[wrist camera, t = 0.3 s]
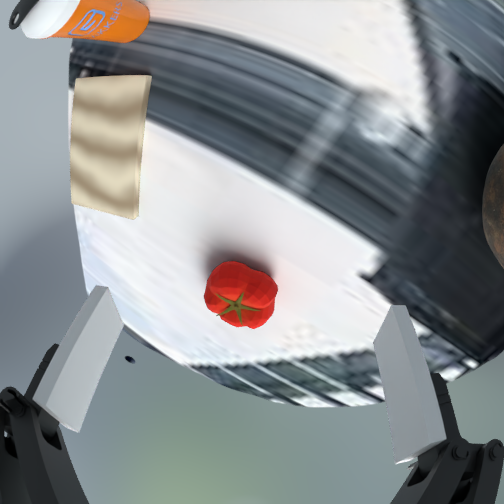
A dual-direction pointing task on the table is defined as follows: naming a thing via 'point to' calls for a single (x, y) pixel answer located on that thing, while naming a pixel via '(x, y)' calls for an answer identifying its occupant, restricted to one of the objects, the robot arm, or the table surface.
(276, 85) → the table surface
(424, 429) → the robot arm
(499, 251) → the jug
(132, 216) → the oak board
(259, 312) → the tomato
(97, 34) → the shaker bottle
